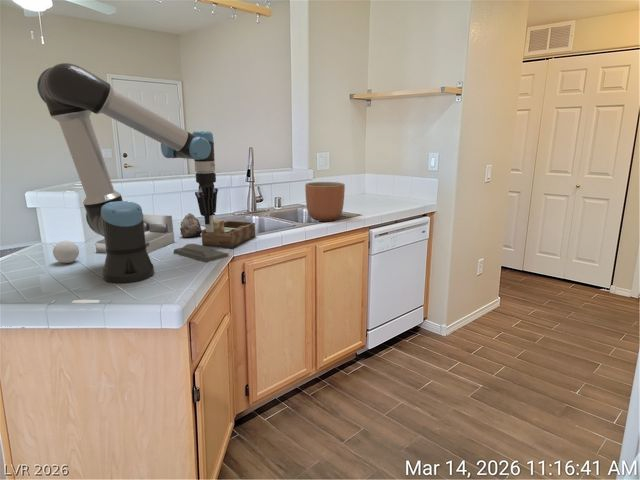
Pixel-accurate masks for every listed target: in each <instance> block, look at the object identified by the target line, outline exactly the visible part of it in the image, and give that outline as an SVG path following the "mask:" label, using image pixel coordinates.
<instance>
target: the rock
mask: <svg viewBox="0 0 640 480" xmlns="http://www.w3.org/2000/svg"><path fill="white" fill-rule="evenodd" d="M179 230H180V235H181V236H182V237H185V238H191V237H194V236H195V237H200V236H201V235H202V233H201V230H203V229H202V228H201V223H200V221H199V219H198V218H196V217H195V215H194V214H193V213H190V212H189V213H187V215H185V216H184V217H183V220H181V222H180V228H179Z"/></svg>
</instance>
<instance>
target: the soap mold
mask: <svg viewBox="0 0 640 480" xmlns="http://www.w3.org/2000/svg"><path fill="white" fill-rule="evenodd" d="M173 254H174V255H178V256H182V257H185V258H189V259H193V260H196V261H199V262H202V263H209V262H214V261H216V260H220V259H221V260H222V259H224V258H228V257H229V254H228V252H224V251H219V250H217V249H214V247H209V246H202V244H197V243H188V244H187V243H186V244H185V245H184V246H182V247H178V248H174V249H173Z"/></svg>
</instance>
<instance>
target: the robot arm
mask: <svg viewBox="0 0 640 480" xmlns="http://www.w3.org/2000/svg"><path fill="white" fill-rule="evenodd" d="M37 92H38V94H39V97H40V98H41V100H42V101H43V102H44V103H45V104H46V107H47V110H48V113H49V115H50V118H52V119H53V120H56V121H57V122H58V123H59V125H60V129H61V131H62V134H63V137H64V140H65V142H66V146H67V147H68V150H69V153H70V156H71V159H72V161H73V165H74V167H75V169H76V173H77V175H78V177H79V180H80V183H81V186H82V189H83V192H84V194H85V199H84V200H83V202H82V204H83V206H84V209H85V213H86V214H85V220H86V223H87V225H88V227H89V228H90V229H91V230H92V232H94V233H95V234H98V235H99V236H102V237H104V238H103V239H105V246H106V253H105V254H106V255H105V256H106V257H105V261H104V268H103V270H102V279H103V280H104V281H105V282H108V283H113V284H126V283H133V282H138V281H141V280H146V279H148V278H150V277H152V276H153V275H154V274H155V266H154V264H153V263H152V261H151V258H150V255H149V253H147V251H146V242H145V232H144V222H143V214H144V213H143V208H142V206H141V205H140V204H138V203H137V202H134V201H125V200H124V199H123V198H122V195H121V193H120V192H118V191H116V190H115V189H114V186H113V184H112V180H111V177H110V173H109V171H108V167H107V165H106V162H105V159H104V156H103V154H102V151H101V148H100V144H99V141H98V139H97V136H96V132H95V130H94V126H93V123H92V121H91V119H90V118H91V115H92V113H93V114H96V115H100V114H103V115H106V116H107V117H109V118H111V119H113V120H115V121H117V122H119V123H121V124H122V125H125V126H127V127H129V128H130V129H133V130H135V131H136V132H138V133H139V134H140V133H141V134H143V135H145V136H146V137H149V138H151V139H152V140H154V141H156V142H159V143H160V150H161V153H162V156H163V157H164V158H166V159H185V160H186V159H187V160H188V159H189V160H194V171H195V172H196V173H195V182H196V183H197V184H198V191H195V192H194V195H195V197H196V200H197V205H198V209H199V213H200V214H199V215H201V216H202V217H203V218H204V226H205V227H204V229H206V232H214V229H213V220H214V218H213V217H214V216H215V215H216V212H217V203H218V202H217V201H218V199H217V198H218V196H217V195H218V192H219V189H218V188H215V184H214V183H216V182H217V179H216V178H217V174H216V162H215V142H214V135H213V133H212V131H209V130H206V131H205V130H195V131H193V132H192V133H191V132H189V131H187V130H185V129H183V128H181V127H180V126H178V125H177V124H174V123H173V122H171V121H169V120H168V119H166V118H164V117H162V116H160V115H159V114H157V113H155V112H153V111H151V110H149V109H148V108H146V107H145V106H142V104H139V103H137V102H136V101H134V100H132V99H130V98H128V97H127V96H124V95H123V94H121V93H120V92H118V91H117V90H114V89H113V85H112V84H111V83H109V82H107V81H105V80H104V79H102V78H100V77H99V76H97V75H95V74H94V73H92V72H91V71H88V70H87V69H85V68H83V67H81V66H79V65H77V64H73V63H67V62H62V63H58V64H55V65H54V66H52V67H48V68H46V69H44V71H42V72H41V74H39V77H38V80H37Z"/></svg>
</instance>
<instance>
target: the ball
mask: <svg viewBox="0 0 640 480" xmlns="http://www.w3.org/2000/svg"><path fill="white" fill-rule="evenodd" d="M52 255H53V257H54V259H55V260H56V261H57V262H58V263H59V262H60V263H61V264H70V263H72V262H75V261H76V260H77V259H78V257H79V255H80V249H79V246H78V245H77V244H76V243H75V242H73V241H71V240H62V241H59V242H58V243H56V244H55V245H54V246H53V249H52Z"/></svg>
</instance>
